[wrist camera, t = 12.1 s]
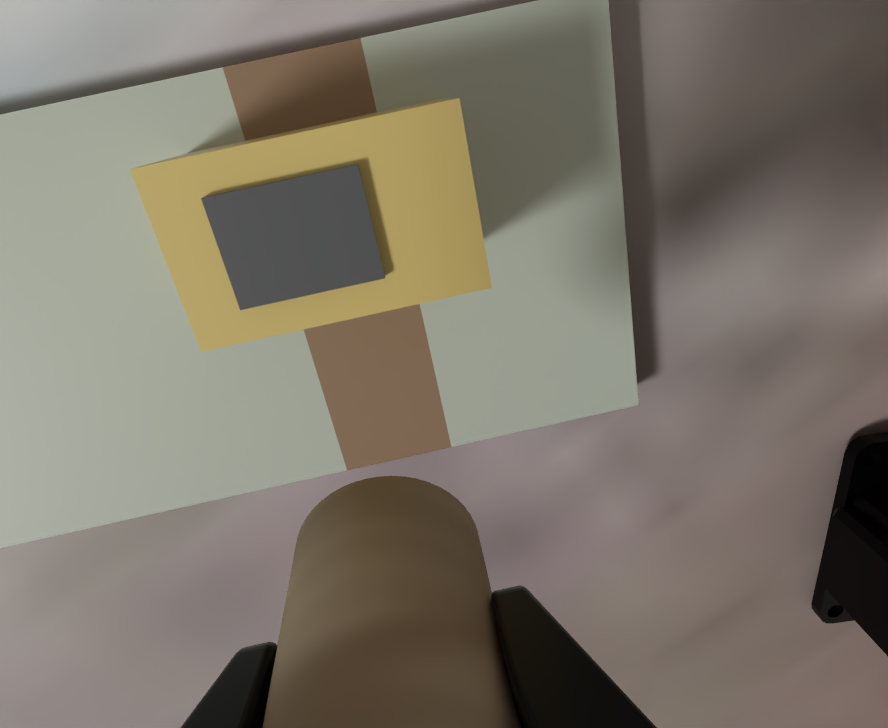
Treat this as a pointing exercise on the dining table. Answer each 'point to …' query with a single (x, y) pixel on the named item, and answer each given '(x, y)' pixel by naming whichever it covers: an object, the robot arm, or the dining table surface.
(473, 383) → the board
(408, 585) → the awl
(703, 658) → the dining table surface
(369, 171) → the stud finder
